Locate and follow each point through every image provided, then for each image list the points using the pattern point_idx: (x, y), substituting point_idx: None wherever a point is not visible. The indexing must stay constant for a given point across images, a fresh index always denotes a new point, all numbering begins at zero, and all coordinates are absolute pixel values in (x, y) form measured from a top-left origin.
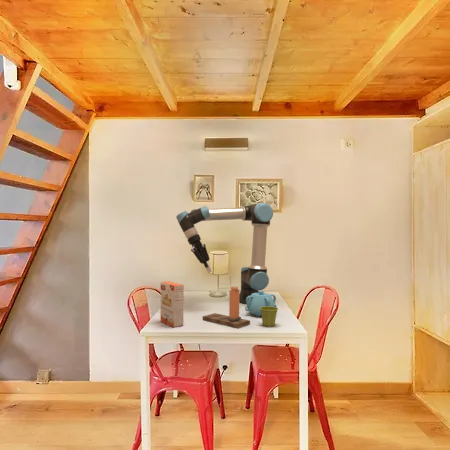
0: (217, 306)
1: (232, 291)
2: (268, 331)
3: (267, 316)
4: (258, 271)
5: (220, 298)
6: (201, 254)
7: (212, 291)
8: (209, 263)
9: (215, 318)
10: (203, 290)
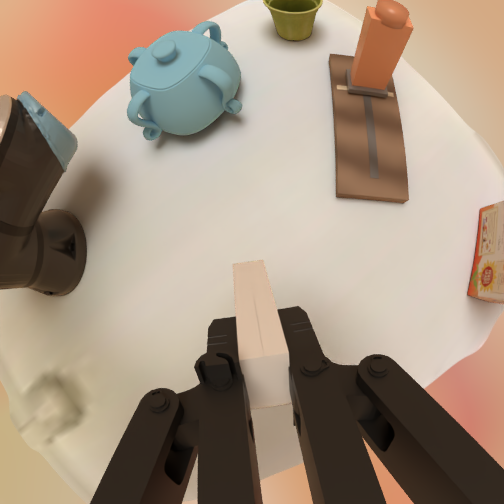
0: (180, 306)
1: (408, 19)
2: (343, 16)
3: (313, 7)
4: (19, 105)
5: (79, 371)
6: (382, 495)
7: (46, 433)
8: (210, 342)
9: (396, 143)
10: (58, 459)
